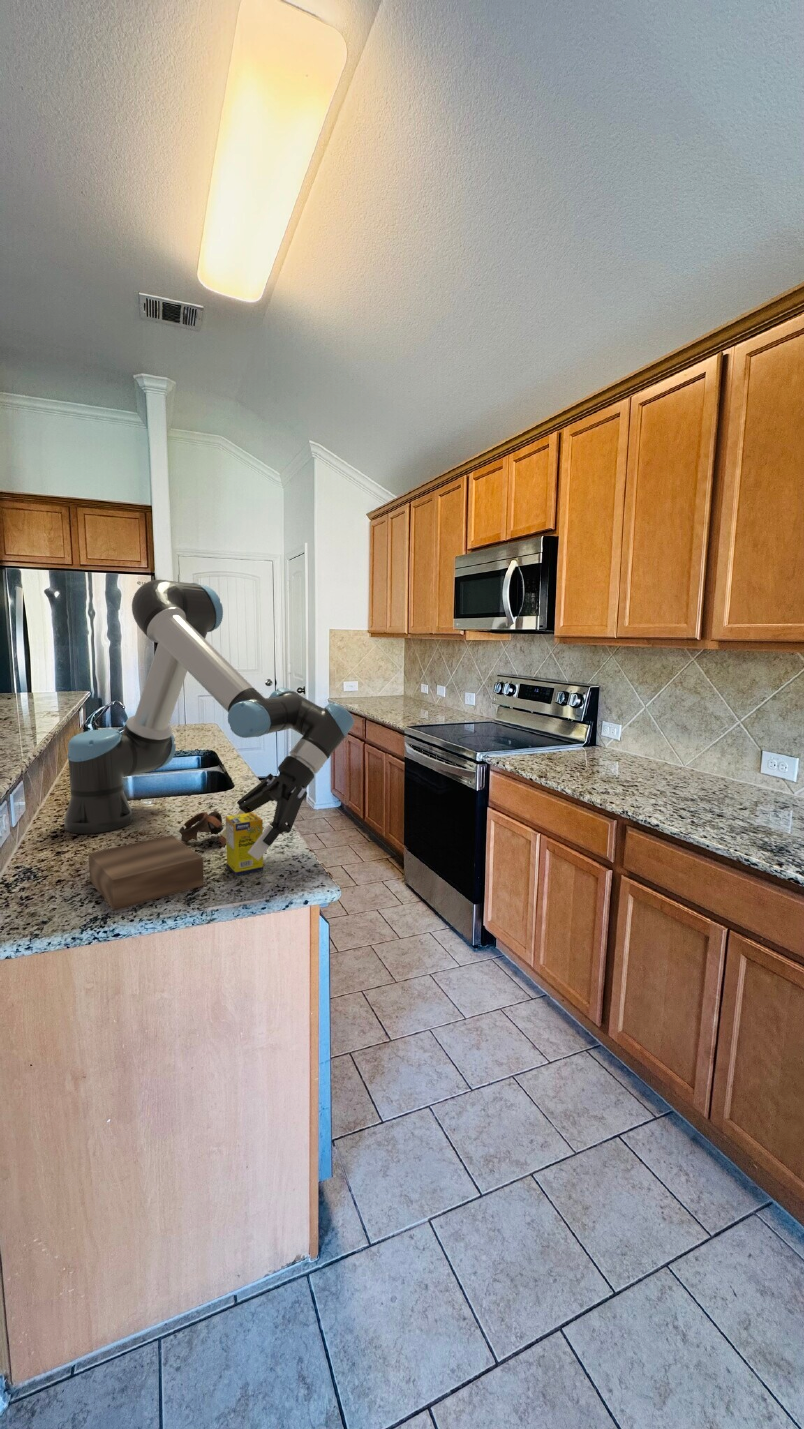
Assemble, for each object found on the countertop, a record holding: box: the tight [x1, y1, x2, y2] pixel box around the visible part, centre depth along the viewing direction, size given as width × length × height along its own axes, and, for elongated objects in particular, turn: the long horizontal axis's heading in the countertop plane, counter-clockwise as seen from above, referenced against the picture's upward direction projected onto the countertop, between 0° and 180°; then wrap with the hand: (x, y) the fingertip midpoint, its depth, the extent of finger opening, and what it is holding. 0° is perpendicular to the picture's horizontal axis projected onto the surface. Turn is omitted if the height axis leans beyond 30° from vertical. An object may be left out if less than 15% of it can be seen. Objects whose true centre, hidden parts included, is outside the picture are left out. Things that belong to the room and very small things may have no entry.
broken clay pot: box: [178, 811, 226, 847], centre depth 133 cm, size 12×10×8 cm
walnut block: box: [87, 835, 205, 911], centre depth 111 cm, size 16×16×6 cm
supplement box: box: [225, 811, 264, 877], centre depth 118 cm, size 6×6×11 cm
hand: (237, 846), depth 117 cm, fingers open, 13 cm apart
